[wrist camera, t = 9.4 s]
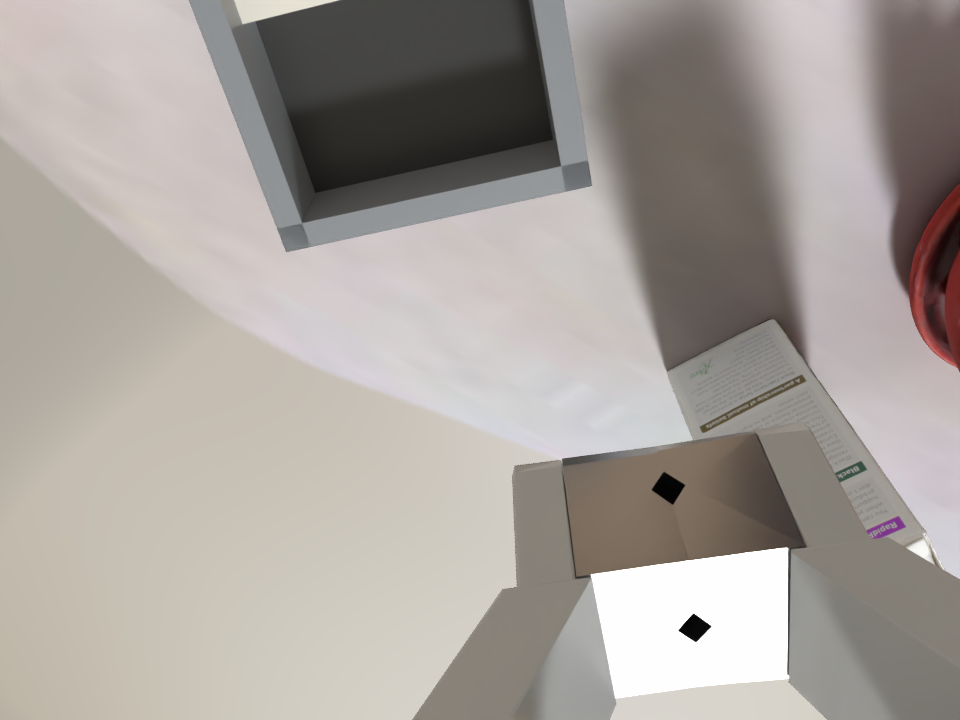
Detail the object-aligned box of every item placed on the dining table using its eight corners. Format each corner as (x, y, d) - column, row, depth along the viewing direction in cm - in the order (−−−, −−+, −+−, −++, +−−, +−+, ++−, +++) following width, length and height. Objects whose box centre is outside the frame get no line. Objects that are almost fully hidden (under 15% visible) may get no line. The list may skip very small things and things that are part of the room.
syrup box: (661, 370, 38) (753, 611, 26) (777, 311, 37) (932, 539, 25) (710, 447, 41) (814, 699, 29) (820, 395, 39) (979, 640, 27)
